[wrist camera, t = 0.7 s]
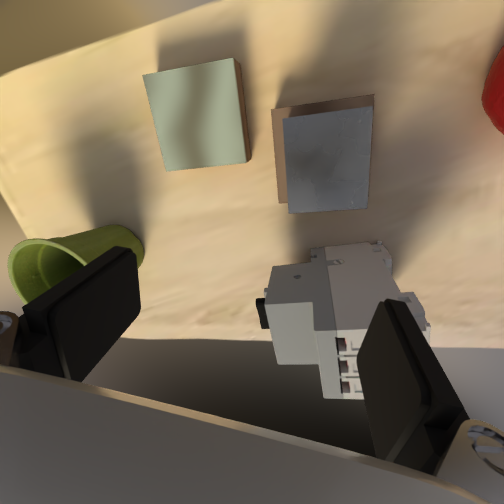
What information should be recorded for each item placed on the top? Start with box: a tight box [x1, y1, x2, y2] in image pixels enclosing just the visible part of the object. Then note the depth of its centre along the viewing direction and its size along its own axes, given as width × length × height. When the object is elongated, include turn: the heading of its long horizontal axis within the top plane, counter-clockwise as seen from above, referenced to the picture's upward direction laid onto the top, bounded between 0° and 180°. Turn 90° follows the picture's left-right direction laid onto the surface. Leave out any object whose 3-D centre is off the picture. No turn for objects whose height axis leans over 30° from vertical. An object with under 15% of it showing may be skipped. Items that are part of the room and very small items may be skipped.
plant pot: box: [8, 225, 144, 305], centre depth 34 cm, size 12×12×11 cm
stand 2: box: [271, 94, 374, 204], centre depth 27 cm, size 9×9×3 cm
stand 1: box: [142, 58, 251, 171], centre depth 28 cm, size 9×9×3 cm
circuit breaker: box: [256, 241, 431, 399], centre depth 28 cm, size 8×14×15 cm, turn 102°
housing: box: [282, 106, 373, 214], centre depth 23 cm, size 6×7×7 cm
